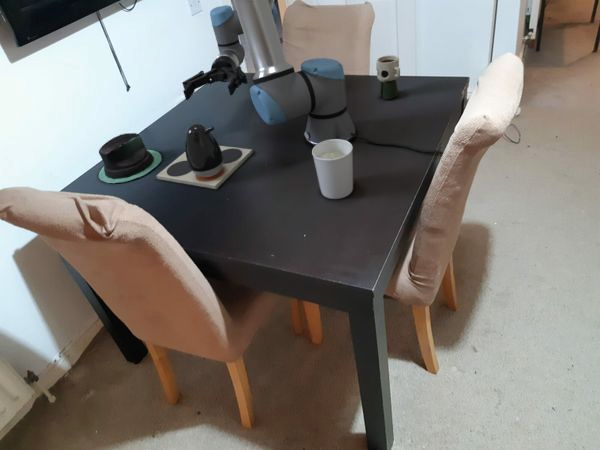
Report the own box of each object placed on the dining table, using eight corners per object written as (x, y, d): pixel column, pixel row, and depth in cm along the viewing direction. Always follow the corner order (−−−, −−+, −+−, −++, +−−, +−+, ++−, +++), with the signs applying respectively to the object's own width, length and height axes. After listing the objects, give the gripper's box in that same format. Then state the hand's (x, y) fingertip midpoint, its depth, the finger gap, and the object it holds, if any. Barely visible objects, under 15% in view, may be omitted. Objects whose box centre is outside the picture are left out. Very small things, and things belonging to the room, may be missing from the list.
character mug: (370, 96, 154) (368, 59, 146) (385, 89, 156) (384, 52, 148) (391, 104, 146) (391, 66, 138) (407, 97, 149) (407, 58, 141)
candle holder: (332, 175, 118) (327, 135, 111) (363, 185, 113) (360, 143, 105) (310, 194, 113) (303, 154, 106) (341, 205, 107) (336, 163, 100)
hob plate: (253, 152, 135) (252, 148, 134) (216, 189, 122) (215, 185, 121) (197, 145, 144) (195, 142, 144) (157, 179, 131) (155, 175, 130)
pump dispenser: (221, 182, 122) (205, 132, 112) (187, 182, 124) (169, 134, 115) (232, 162, 129) (218, 114, 120) (200, 163, 132) (184, 117, 122)
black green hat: (127, 144, 151) (175, 149, 144) (106, 192, 146) (154, 200, 138) (97, 119, 138) (147, 123, 131) (72, 171, 132) (124, 178, 125)
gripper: (264, 73, 143) (252, 100, 127) (192, 82, 148) (172, 109, 132) (259, 50, 139) (246, 75, 123) (185, 60, 143) (163, 85, 127)
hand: (207, 93), depth 127 cm, fingers open, 13 cm apart
